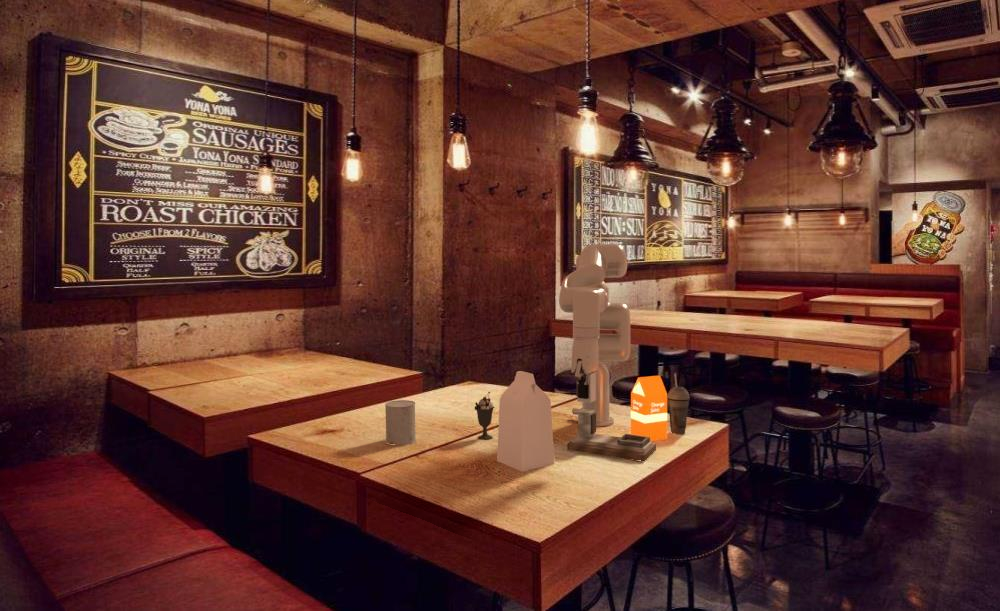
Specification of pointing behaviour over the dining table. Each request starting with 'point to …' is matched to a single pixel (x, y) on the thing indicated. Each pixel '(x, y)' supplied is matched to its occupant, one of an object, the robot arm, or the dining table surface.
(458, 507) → the dining table surface
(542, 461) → the milk
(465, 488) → the dining table surface
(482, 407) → the sundae
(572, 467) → the dining table surface
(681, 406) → the beverage cup
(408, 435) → the gray can
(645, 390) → the orange juice
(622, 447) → the rail board
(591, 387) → the white block dark cap
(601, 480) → the dining table surface
